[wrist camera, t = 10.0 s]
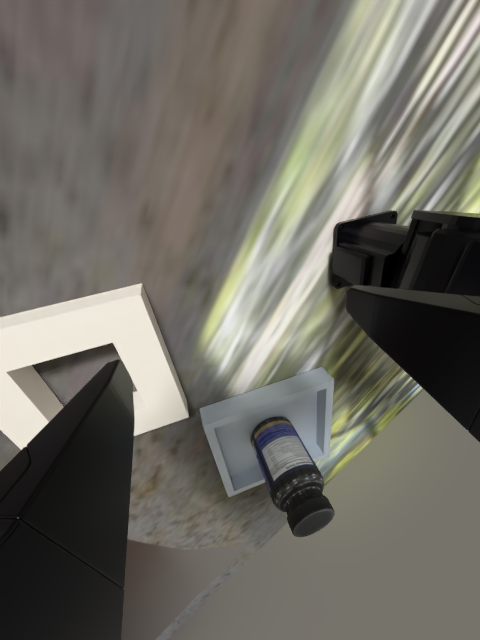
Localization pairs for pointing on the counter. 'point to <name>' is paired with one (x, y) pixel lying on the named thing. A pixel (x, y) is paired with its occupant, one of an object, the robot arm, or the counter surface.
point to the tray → (261, 404)
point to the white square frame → (78, 335)
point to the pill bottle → (291, 476)
